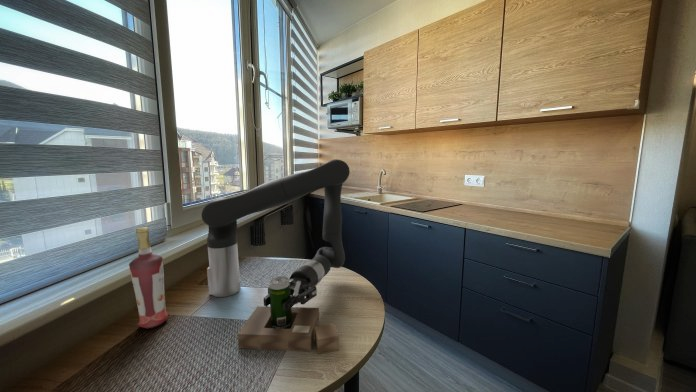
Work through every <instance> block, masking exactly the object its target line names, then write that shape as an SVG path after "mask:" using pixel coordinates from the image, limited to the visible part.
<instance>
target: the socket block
mask: <svg viewBox="0 0 696 392" xmlns="http://www.w3.org/2000/svg"><path fill="white" fill-rule="evenodd" d="M319 308H320V307H303V306H301V307H299V306H297V307H295V306H292V307H291V311H292V321H291V323H290V325H289V326H291V327H290V328H282V329H277V328H274V327H273V325H272V324H271V312H270V306H264V305H263V306H262V305H260V306H259V305H258V306H256V307H255V309H254V311H253V312H252V313H251V315H250V316H249V317H248V318H247V320H246V322H245V323H244V324H243V326H242V327H241V329H240V330H239V332H237V342H238V343H237V345H238V349H239V348H248V349H247V350H256V349H265V350H264V351H289V352H312V350H313V345H314V342H315V327H316V326H319V324H320V309H319Z"/></svg>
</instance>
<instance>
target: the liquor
mask: <svg viewBox="0 0 696 392" xmlns="http://www.w3.org/2000/svg"><path fill="white" fill-rule="evenodd" d="M135 233H136V237H137V240H138V256H137V257H135V258H134V259H132V260H131V262H129V263H128V266H129V271H130V277H131V283H132V285H133V289H134V295H135V300H136V305H137V309H138V310H137V311H138V317H139V322H138V323H137V325H138V326H139V327H141V328H143V329H147V330H149V328H150V329H154V327H155V328H156V327H159V326H160V325H162V324H163V323H165V322H166V320H167V319H168V318H169V313H168V312H167V309H166V294H165V293H166V292H165V273H164V272H165V271H164V260H163V256H161V255H159V254H155V253H153V251H152V247H151V243H150V229H149V227H147V226H146V227H145V226H144V227H138V228H136V229H135Z"/></svg>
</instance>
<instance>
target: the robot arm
mask: <svg viewBox="0 0 696 392" xmlns="http://www.w3.org/2000/svg"><path fill="white" fill-rule="evenodd" d="M350 173H351V171H350V167H349V165H348V164H347V162H345V161H343V160H342V159H332V160H330V161H328V162H326V163H323V164H322V165H320V166H316V167H314V168H312V169H309V170H307V171H302V172H298V173H293V174H288V175H286V176H282V177H279V178H275V179H273V180H272V179H271V180H270V181H269V180H268V181H267V182H264V183H262V184H260V185H258V186H256V187H254V188H251V189H249V190H248V191H245V192H244V193H241V194H238V195H235V196H230V197H222V196H221V197H216V198H213V199H212V200H211V201H209V202H207V203H206V204H205V205H204V207H203V208H202V210H201V219H202V221H203V223H204V224H205V225H206V226H208V233H207V239H206V242H207V243H206V245H207V254H208V265H209V266H208V267H207V268H206V273H207V274H206V275H207V286H208V294H209V295H211V296H213V297H215V298H226V297H229V296H233V295H235V294H236V293H238V292H239V291H240V290H241V279H240V278H241V276H240V265H239V252H238V251H239V250H238V248H239V247H238V220H241V219H242V218H244V217H247V216H249V215H252V214H256V213H260V212H263V211H267V210H270V209H273V208H276V207H280V206H282V205H286V204H288V203H291V202H294V201H296V200H298V199H300V198H302V197H304V196H306V195H309V194H310V193H313V192H315V191H318V190H320V189H324V206H323V207H324V208H323V220H322V240H323V241H325V242H327V243H330V244H331V246H332V247H329V246H322V247H320V248H319V249H318V250H317V251H316V253H315V255H314V256H313V258H312V259H311V260H309V261H308V262H305V263H304V264H303V265H302V266H300V267H299V268H297V269H296V270H294V271H293V272H292V273H291V275H290V277H288V278H289V281H290V291H291V296H290V297H289V298H288V299H287V300H286V301H285V302H284V303H283V311H287V310H289V309H290V308H291V307H295V306H296V305H298V304H301V305H305V304H306V303H308V302H309V301H311V300H312V299H313V298H315V297H317V294H318V293H317V292H318V291H317V285H319V284H320V282H321V281H322V280H323V278H325V276H327V274H328V273H330V271H331V268H333V269H340V268H342V266H343V265H344V264H345V262H346V261H345V260H346V254H345V250H344V246H343V241H342V240H343V239H342V230H343V229H342V228H343V226H342V225H343V214H342V203H341V201H342V200H341V194H342V189H343V184H344V183H345V182H346V181H347V180H348V178H349V176H350ZM262 300H263V306H266V307H269V306H270V297H269V286H268V287H267V295H266V296H264V297H263V299H262Z"/></svg>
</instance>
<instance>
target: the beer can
mask: <svg viewBox="0 0 696 392" xmlns="http://www.w3.org/2000/svg"><path fill="white" fill-rule="evenodd" d="M289 278H290V277H287V276H285V275H284V276H282V275H281V276H276V277H273V278H271V279H270V280H269V284H268V287H269V297H270V304H269V307H270V312H271V324H272V325H273V327H272V328H277V329H287V327H290V326H291V325H290V323H291V321H292V311H291V308H290V309H289V310H287V311H283V303H284V302H285V301H286V300H287V299H288V298H289V297H290V296H291V291H290V281H289Z"/></svg>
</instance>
